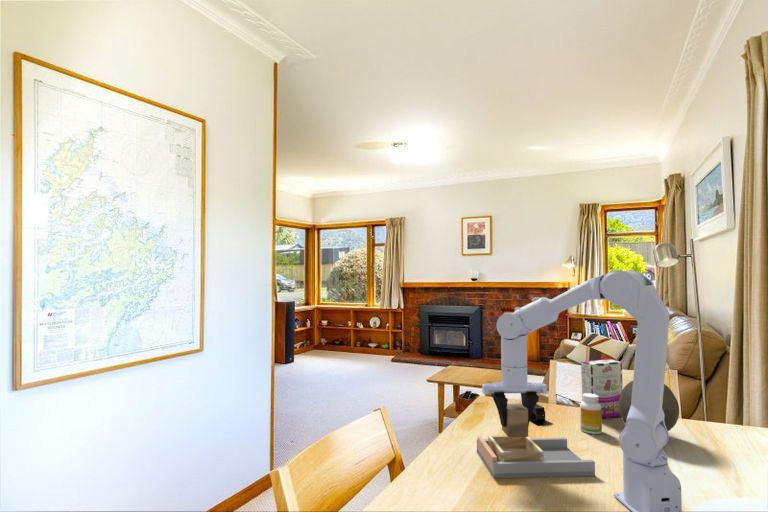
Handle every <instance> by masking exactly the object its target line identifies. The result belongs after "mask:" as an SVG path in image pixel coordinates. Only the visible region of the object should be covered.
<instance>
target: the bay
mask: <svg viewBox="0 0 768 512" xmlns="http://www.w3.org/2000/svg"><path fill="white" fill-rule="evenodd" d="M529 438H530V437H529ZM530 439H531V440H532V441H533V442H534V443H535V444H536V445H537V446H538V447H539V448H540V449H541V450H542V451H543V452H544V461H511V462H497V457H496V455H495V454H494V453H493V451H492V450H491V448H490V447H489V446H488V438H484V437H483V436H477V438H476V453H477V455H478V456H479V458H480V459H481V461H482V462H483V464H484V465H485V467H486V469H487V470H488V472H489V473H490V474H491V476H492V478H493V479H524V478H526V479H527V478H529V479H530V478H560V477H561V478H563V477H564V478H565V477H567V478H568V477H570V478H571V477H595V476H596V461H595V460H594V459H581V457H579V455H577V454H576V453H574V452H573V451H572V450H571V449H570V448H568V438H566V437H531V438H530Z"/></svg>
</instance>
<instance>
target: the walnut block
mask: <svg viewBox="0 0 768 512" xmlns="http://www.w3.org/2000/svg"><path fill="white" fill-rule="evenodd" d="M506 415H507V425H506V427H503V426H502V425H501V430H502V431H503V433H504V434H505V436H508V437H529V426H528V409H527V408H525V407H524V406H523V405H522V403H507V412H506Z"/></svg>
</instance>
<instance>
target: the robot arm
mask: <svg viewBox="0 0 768 512" xmlns="http://www.w3.org/2000/svg"><path fill="white" fill-rule="evenodd" d="M592 299H593V300H607V301H609V302H610V303H612V304H614V305H616V306H617V307H620V308H621V309H623V310H625V312H627V313H628V314H629V315H630V316H631V317H632V318H633V319H634V320H635V321H636V322H637V330H636V341H635V342H636V343H635V355H634V364H633V378H632V381H633V389H632V401H631V407H630V410H629V413H628V416H627V421H626V424H625V426H624V428H623V430H622V431H621V432H620V434H619V439H618V441H619V446H620V449H621V451H622V466H623V467H622V471H623V472H622V475H623V476H622V477H623V478H622V480H623V481H622V483H623V487H622V488H623V490H622V491H623V492H621V491H619V492H613V497H615V499H617V500H618V501H619V502H620V503H621V504H623V505H624V506H625V507H626V508H627V509H628V510H629V511H631V512H683V508H682V507H683V506H682V505H683V504H682V503H683V501H682V485H681V481H680V479H679V478H678V477H677V475H676V474H674V473H673V471H672V470H671V469H670V467H669V463H668V459H669V458H668V457H667V455H666V453H665V451H664V450H663V448H664V447H665V446H666V445H667V444H668V442H669V439H670V435H669V431H668V430H667V428H666V426H665V422H664V417H665V414H664V412H663V409H662V403H663V391H664V384H665V378H666V377H665V376H666V365H667V364H666V362H667V353H668V351H667V350H668V340H669V327H670V312H669V310H668V308H667V307H666V304H665V303H664V302H663V300H662V298H661V296H660V294H659V293H658V292H657V289H656V286H655V284H654V281H652V280H651V279H650V278H648V277H647V276H645V275H644V274H643V273H641V272H639V271H638V270H632V269H628V270H622V269H617V270H616V269H615V270H611V271H608V272H607V273H606V274H601V275H598V276H595V277H593V278H590V279H587V280H585V281H584V282H581V283H580V284H578V285H576V286H574V287H572V288H570V289H569V290H567V291H565V292H563V293H561V294H559V295H557V296H555V297H553V298H552V299H551V298H548V297H545V296H542V297H539V296H536V297H534V298H532V299H531V302H530V303H527V304H526V305H524V306H522V307H520V306H517V307H515V308H514V312H504V313H502V315H500V316H499V317H498V319H497V320H496V330H497V332H498V334H499V336H501V339H500V341H501V342H500V349H501V350H500V351H501V353H500V357H501V358H500V359H501V360H500V361H501V362H500V363H501V365H500V366H501V367H500V368H501V371H500V373H501V376H500V378H501V381H499V382H490V383H482V384H481V393H482V394H483V395H486V396H487V395H491V398H492V399H493V402H494V404H495V406H496V410H497V413H498V416H499V421H500V425H501V427H502V426H503V427H506V425H507V415H506V412H507V404H508V400H509V399H508V398H507V397H506V394H520V400H521V404H522V405H523V406H524V407H525V408H527V409H528V427H529V426H530V423H531V422H530V418H531V415H532V412H533V409H534V407H535V405H536V404H538V403H539V399H540V397H539V395H538V394H542V395H547V394H548V385H547V384H545V382H529V381H528V335H529V334H530V333H532V332H534V331H536V330H539V329H541V328H543V327H545V326H547V325H550V324H552V323H554V322H556V321H557V320H558V317H559V314H560V313H561V312H564V311H566V310H569V309H571V308H574V307H576V306H579V305H581V304H583V303H585V302H588V301H590V300H592Z"/></svg>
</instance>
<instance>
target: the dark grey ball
mask: <svg viewBox="0 0 768 512" xmlns="http://www.w3.org/2000/svg"><path fill="white" fill-rule="evenodd" d="M632 389H633V380H632V381H630V382H629V383H627V384H626V385H625V386H624V387H622V392H621V394H620V398H619V411H620V414H621V417H620V418H621V419H622V421H623V423H624V424H625V425H626V421H627V416H628V413H629V410H630V407H631V401H632ZM662 409H663V412H664V414H665V417H664V422H665V426H666V428H667V430H668V432H669V431H671V430H672V429H673V428H674V427H675V426H676V424H677V423H678V420H679V417H680V406H679V401H678V399H677V397H676V395H675V394H674V393H673V391H672V390H671V388H670V387H669V386H668V385H667V384H665V383H664V391H663V403H662Z"/></svg>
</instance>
